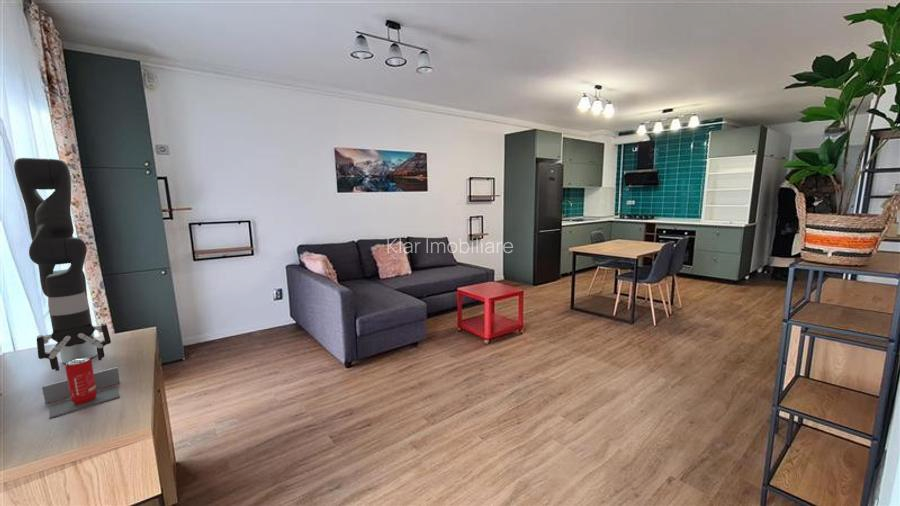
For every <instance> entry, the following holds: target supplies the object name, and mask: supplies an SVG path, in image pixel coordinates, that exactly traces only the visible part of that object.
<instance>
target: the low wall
mask: <svg viewBox="0 0 900 506" xmlns="http://www.w3.org/2000/svg"><path fill="white" fill-rule="evenodd" d="M93 373H94V379H95V385H96V390H98V388H99V389H102V388H105V387H109V386H112V385H115V384H119V383H121V381H120V374H119V370H118V366H116V367H111V368H106V369H104V370H100V371H96V372H93ZM41 388H42V394H43V399H44V403H45V404H48V402H49V403H51V401H52V402H55V400H56V401H59V400H63V399H67V398H70V397H71V395H70V390H69V384H68V379H64V380H60V381H57V382H53V383H49V384H48V383H47V384H44V385H42V386H41ZM69 396H70V397H69ZM66 397H67V398H66Z"/></svg>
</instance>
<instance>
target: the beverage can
mask: <svg viewBox="0 0 900 506" xmlns="http://www.w3.org/2000/svg"><path fill="white" fill-rule="evenodd" d="M92 362H93V361H92V360H91V358H79V359H75V360H72V361H69V362H68V363H65V372H66V373H65V374H66V378H67V379H66V380H68V384H69V390H70V395H71V396H70V399H71V400H72V402H74V404H76V405H79V404H84V403H88V402H90V401H92V400H94V399H95V398H96V395H97V391H98V389H96V385H95V379H94V373H95V372H94V369H93V368H94V367H93V363H92Z"/></svg>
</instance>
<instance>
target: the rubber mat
mask: <svg viewBox="0 0 900 506" xmlns="http://www.w3.org/2000/svg"><path fill="white" fill-rule="evenodd" d="M118 389H119V388H118V386H117V385H114V386H112V387H111V386H110V387H107V388H103V389H99V390H97V395H96V398H95V399H94V400H92V401H90V402H88V403H84V404H79V405H76V404H74V402H72V400H71V398H69V399H65V400H61V401H58V402H55V403H51V404H49V415H48V416H49V419H53V418H58V417H60V416H63V414H64V415H66V413H67V414H70V413H74V412H77V411H80V410H83V408H84V409H87V408H90V407H93V406H97V405H100V404H103V403H107V402H110V401H113V400H116V398H117V399H119V397H121V396H120V393H119V390H118ZM99 403H100V404H99ZM89 406H90V407H89ZM73 411H74V412H73Z"/></svg>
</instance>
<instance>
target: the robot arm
mask: <svg viewBox="0 0 900 506" xmlns="http://www.w3.org/2000/svg"><path fill="white" fill-rule="evenodd" d="M13 166H14V167H13V168H14V174H15V178H16V181H17V183H18V187H19V190H20V192H21V197H22V199H23V202H24V206H25V210H26V215H27V221H28V228H29V233H30V238H31V240H32V242H31V243H30V245H29V250H28V255H29V258H30V261H32V262H33V263H34V264H36V265H38V272H39V273H38V274H39V281H40V282H39V283H40V286H41V290H42V293H43V294H44V296H46V298H47V307H48V314H49V316H50V317H49V318H50V322H51V327H52V328H51V329H52V333H51V334H39V335H37V336H36V348H37V358H38V359H40V360H43V359H46V360H47V359H48V360H49V364H50V368H51V369H50V370H53V371H54V370H55V372H57V371H60V365H59V360H58V356H57V355H58V354H60V360H61V363H62V364H66V363H68V362H69V361H72V360H75V359H79V358H90V359H92V357H93V358H94V357H96V356H97V360H98V361H99V362H100V361H102V360H103V358H105V350H104V347H105V346H107V345H109V344H111V343H112V339H111V337H110V336H111V335H110V333H109V329H108V326H107V323H106V322H102V323H101V324H99V325H93V322H92V321H93V320H92V315H91V311H90V310H91V309H90V304H89V300H88V293H87V291H88V289H87V283H86V281H87V280H86V275H85V272H84V270H83V269H84V264H85V261H86V260H85V259H86V255H87V251H88V249H87V248H88V247H87V245H86V242H85V241H84V240H83V239H81V238H79V237H74V231H75V230H74V225H73V218H72V212H71V204H72V179H71V177H72V176H71V172H70V169H69V165H68V164H67V163H66V162H65V161H64V160H62V159H55V158H37V157H19V158H18V157H17V158H16V159H15V161H14V164H13ZM38 190H39V191H40V190H42V191H43V190H45V191H46V190H51V191H52V190H53V192H52V193H51V194H50V195H49V196H48V197H47V198H45V199H43V198H42V196H41V194H40V193H39V191H38ZM66 264H70V266H69V267H68V268H67V269H59V270H58V269H57V270H54V269H55V267H56V265H66ZM95 331H98V333H102V336H103V340H98V339H97V338H96V337H95V334H94V332H95ZM49 340H53V341H55V342H56V344H55V345H54V347H53V348H52V349H51V350H50V352H46V348H45V347H46V346H45V344H48V343H49Z"/></svg>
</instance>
